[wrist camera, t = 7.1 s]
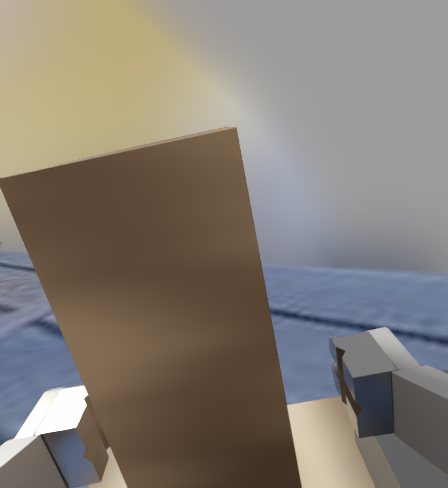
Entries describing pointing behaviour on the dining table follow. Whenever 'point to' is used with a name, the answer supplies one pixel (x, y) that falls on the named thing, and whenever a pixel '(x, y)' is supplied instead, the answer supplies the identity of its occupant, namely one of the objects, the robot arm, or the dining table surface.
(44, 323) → the dining table surface
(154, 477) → the walnut slat
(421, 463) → the rectangular frame
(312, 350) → the dining table surface
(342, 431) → the birch board
